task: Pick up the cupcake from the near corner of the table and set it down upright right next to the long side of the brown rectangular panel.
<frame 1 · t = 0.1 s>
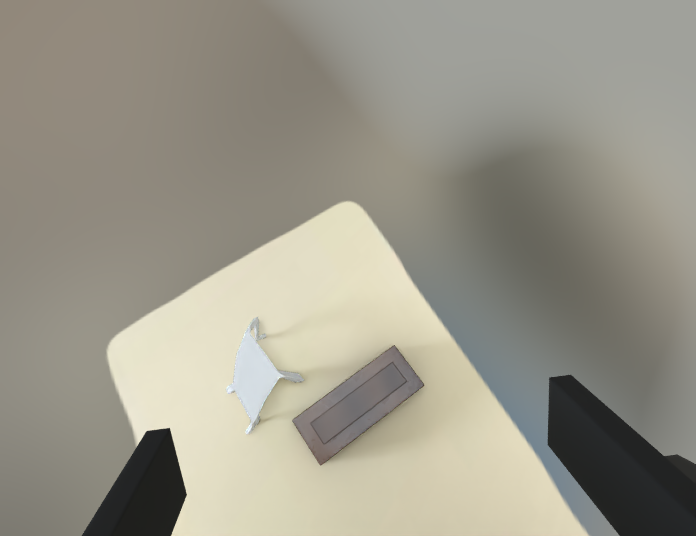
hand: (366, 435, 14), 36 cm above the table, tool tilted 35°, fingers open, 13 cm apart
origami figure: (265, 372, 50), on the table
brown rectangular panel: (358, 403, 49), on the table
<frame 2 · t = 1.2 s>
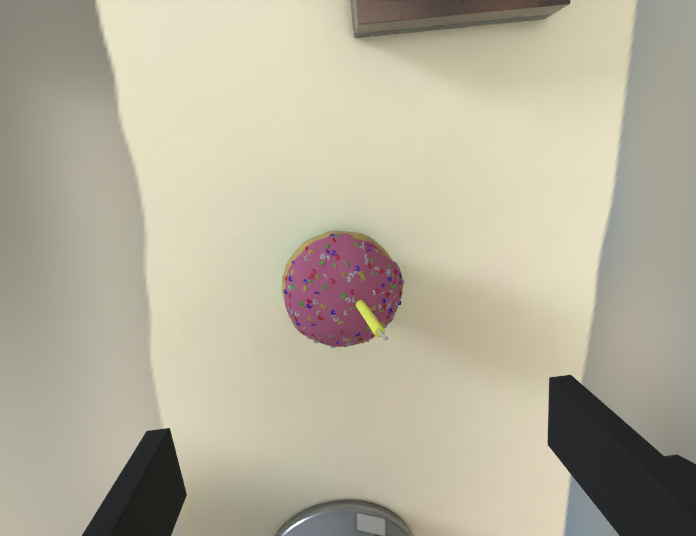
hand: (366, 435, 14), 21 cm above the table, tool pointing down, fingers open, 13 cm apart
cupcake: (338, 272, 35), on the table
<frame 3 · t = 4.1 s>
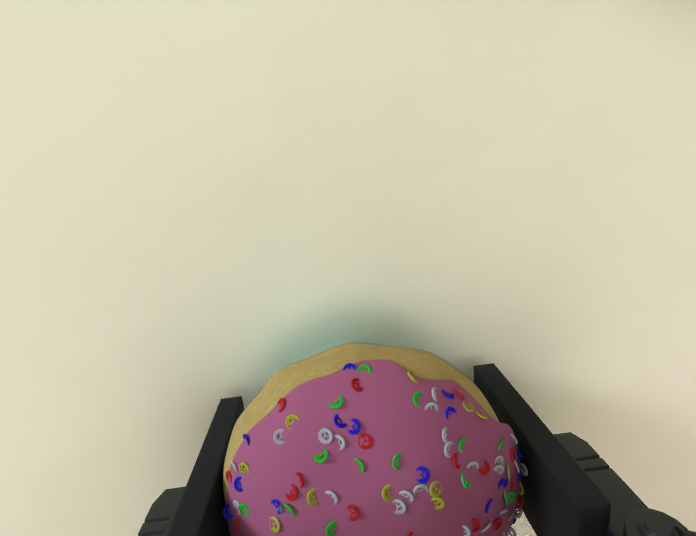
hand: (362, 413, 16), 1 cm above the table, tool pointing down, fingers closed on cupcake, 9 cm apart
cupcake: (357, 397, 17), on the table, touching gripper
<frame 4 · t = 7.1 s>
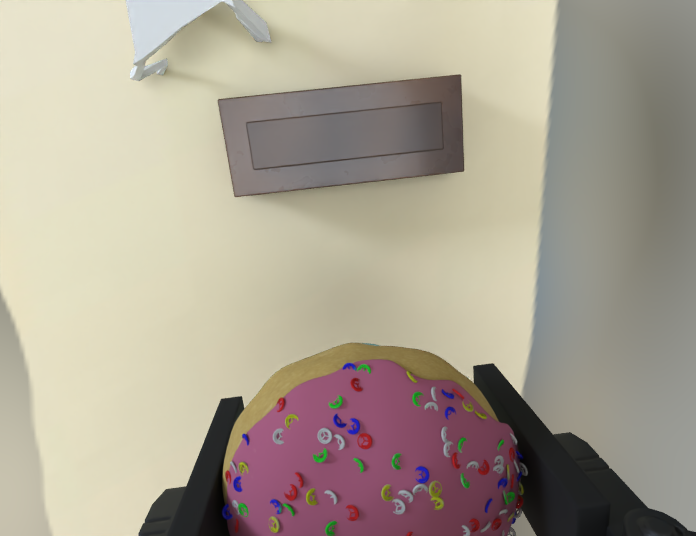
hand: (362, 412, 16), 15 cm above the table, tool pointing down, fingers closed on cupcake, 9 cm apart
cupcake: (356, 397, 17), point 14 cm above the table, touching gripper
brown rectangular panel: (342, 139, 28), on the table
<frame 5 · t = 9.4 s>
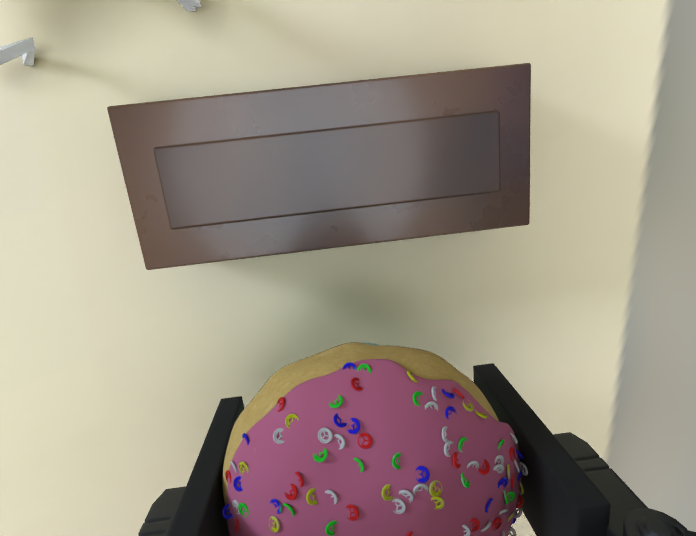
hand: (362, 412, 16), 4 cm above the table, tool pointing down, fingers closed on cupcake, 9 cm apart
cupcake: (356, 396, 17), point 3 cm above the table, touching gripper
brown rectangular panel: (330, 167, 17), on the table
when the fingers open (1 cm above the table, at t = 10.7 s): cupcake stays where it is, on the table.
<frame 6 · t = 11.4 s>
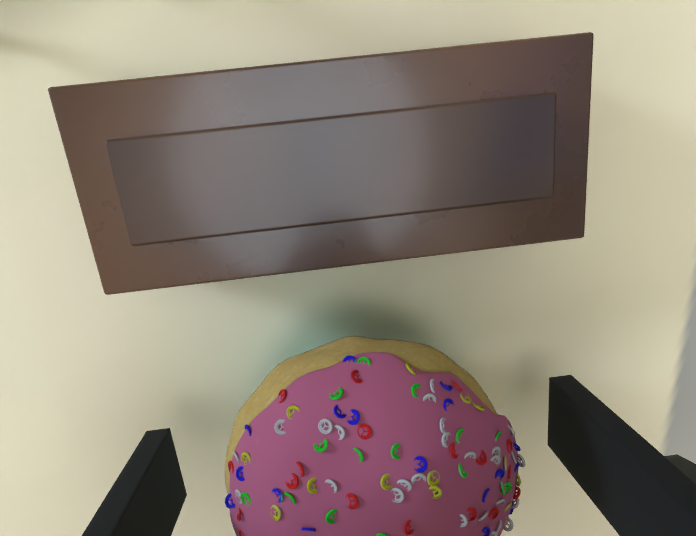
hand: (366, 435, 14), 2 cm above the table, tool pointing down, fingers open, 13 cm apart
cupcake: (357, 391, 17), on the table
brown rectangular panel: (334, 165, 14), on the table
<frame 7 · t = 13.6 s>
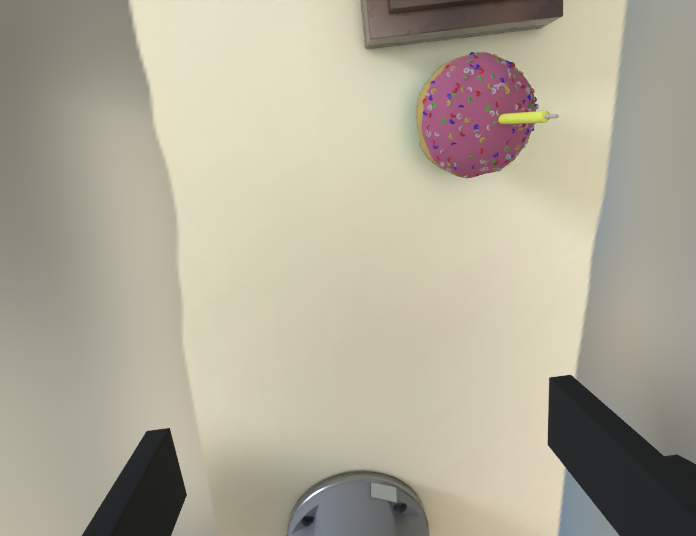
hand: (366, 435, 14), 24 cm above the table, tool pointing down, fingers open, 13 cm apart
cupcake: (455, 121, 35), on the table
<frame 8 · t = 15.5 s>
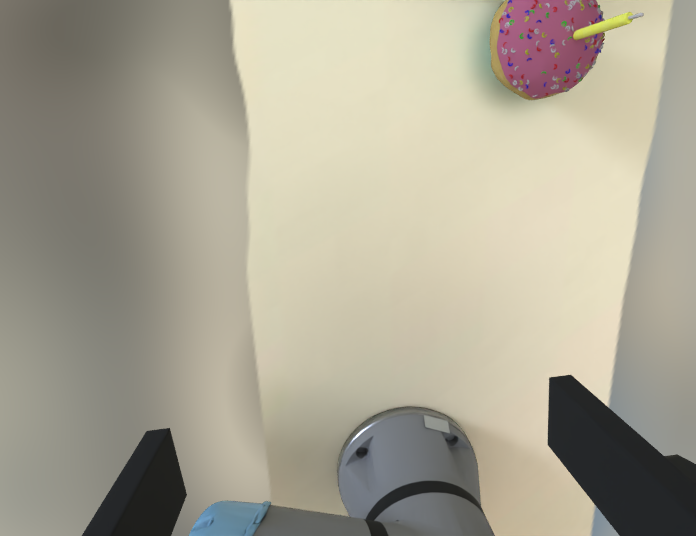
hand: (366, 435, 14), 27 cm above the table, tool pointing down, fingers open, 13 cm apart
cupcake: (517, 54, 37), on the table
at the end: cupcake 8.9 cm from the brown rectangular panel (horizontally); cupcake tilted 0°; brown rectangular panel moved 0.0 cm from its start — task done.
